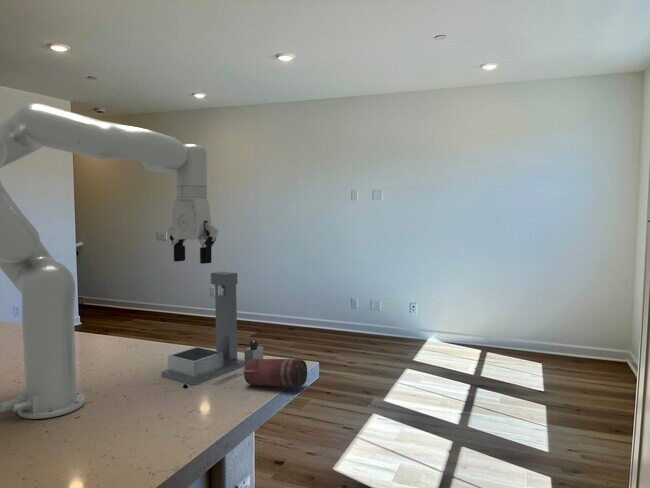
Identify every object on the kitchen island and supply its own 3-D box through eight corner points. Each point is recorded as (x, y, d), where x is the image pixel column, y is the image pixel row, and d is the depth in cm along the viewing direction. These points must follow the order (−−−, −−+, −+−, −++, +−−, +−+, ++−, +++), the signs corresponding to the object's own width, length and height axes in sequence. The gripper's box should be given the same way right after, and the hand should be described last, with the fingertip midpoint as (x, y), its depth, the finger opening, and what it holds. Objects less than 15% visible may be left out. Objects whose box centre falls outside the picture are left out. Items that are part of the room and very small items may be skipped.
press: (207, 389, 112) (205, 283, 110) (161, 376, 121) (159, 278, 119) (260, 367, 128) (259, 274, 126) (216, 357, 137) (215, 270, 135)
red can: (296, 383, 106) (240, 381, 111) (306, 388, 111) (252, 387, 116) (299, 355, 109) (244, 355, 113) (308, 362, 114) (256, 362, 119)
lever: (253, 369, 124) (252, 342, 123) (244, 367, 125) (244, 340, 125) (263, 365, 127) (263, 338, 127) (255, 363, 129) (254, 337, 128)
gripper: (157, 194, 121) (158, 261, 122) (204, 192, 112) (205, 265, 113) (180, 195, 127) (181, 259, 128) (227, 194, 118) (227, 263, 119)
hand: (192, 262), depth 121 cm, fingers open, 9 cm apart
